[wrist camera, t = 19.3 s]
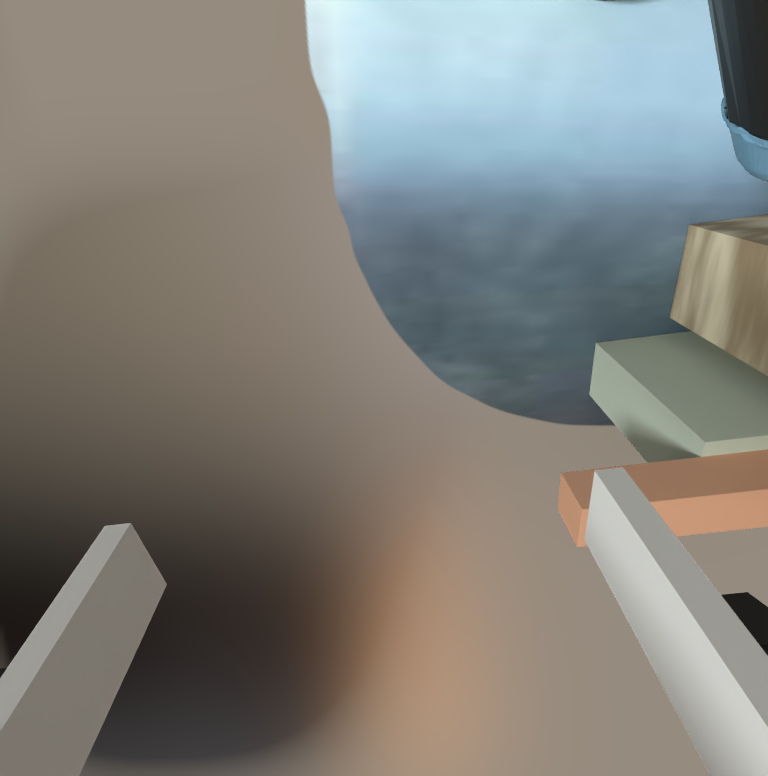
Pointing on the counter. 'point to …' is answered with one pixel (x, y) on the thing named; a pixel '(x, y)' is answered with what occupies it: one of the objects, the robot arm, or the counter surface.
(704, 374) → the post low
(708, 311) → the stand
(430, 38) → the counter surface
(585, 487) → the batten
